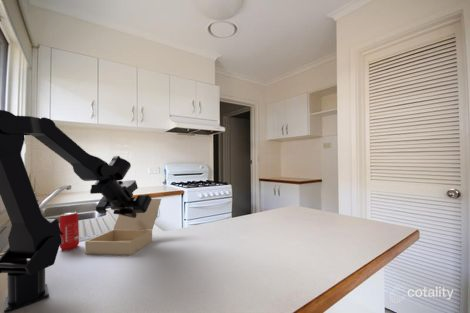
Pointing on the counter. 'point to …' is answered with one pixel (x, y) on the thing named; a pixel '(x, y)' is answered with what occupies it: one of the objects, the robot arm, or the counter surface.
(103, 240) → the mailer box
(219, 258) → the counter surface
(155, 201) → the mailer lid
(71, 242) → the beverage can
